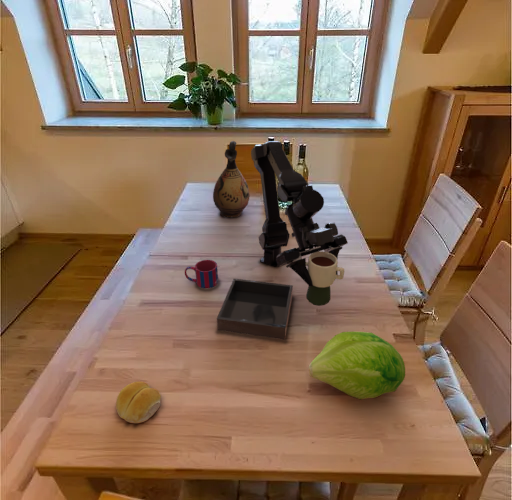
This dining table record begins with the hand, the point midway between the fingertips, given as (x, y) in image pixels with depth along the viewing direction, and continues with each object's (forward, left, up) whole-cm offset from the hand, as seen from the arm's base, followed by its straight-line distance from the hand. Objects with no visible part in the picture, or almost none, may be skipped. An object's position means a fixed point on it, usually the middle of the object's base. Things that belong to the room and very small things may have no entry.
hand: (323, 282), depth 89 cm
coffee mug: (-1, -1, -7) cm, 7 cm away
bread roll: (+43, -22, -13) cm, 50 cm away
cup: (+3, -38, -13) cm, 40 cm away
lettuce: (+14, +14, -13) cm, 24 cm away
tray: (+6, -16, -13) cm, 22 cm away
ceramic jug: (-44, -60, -13) cm, 75 cm away
